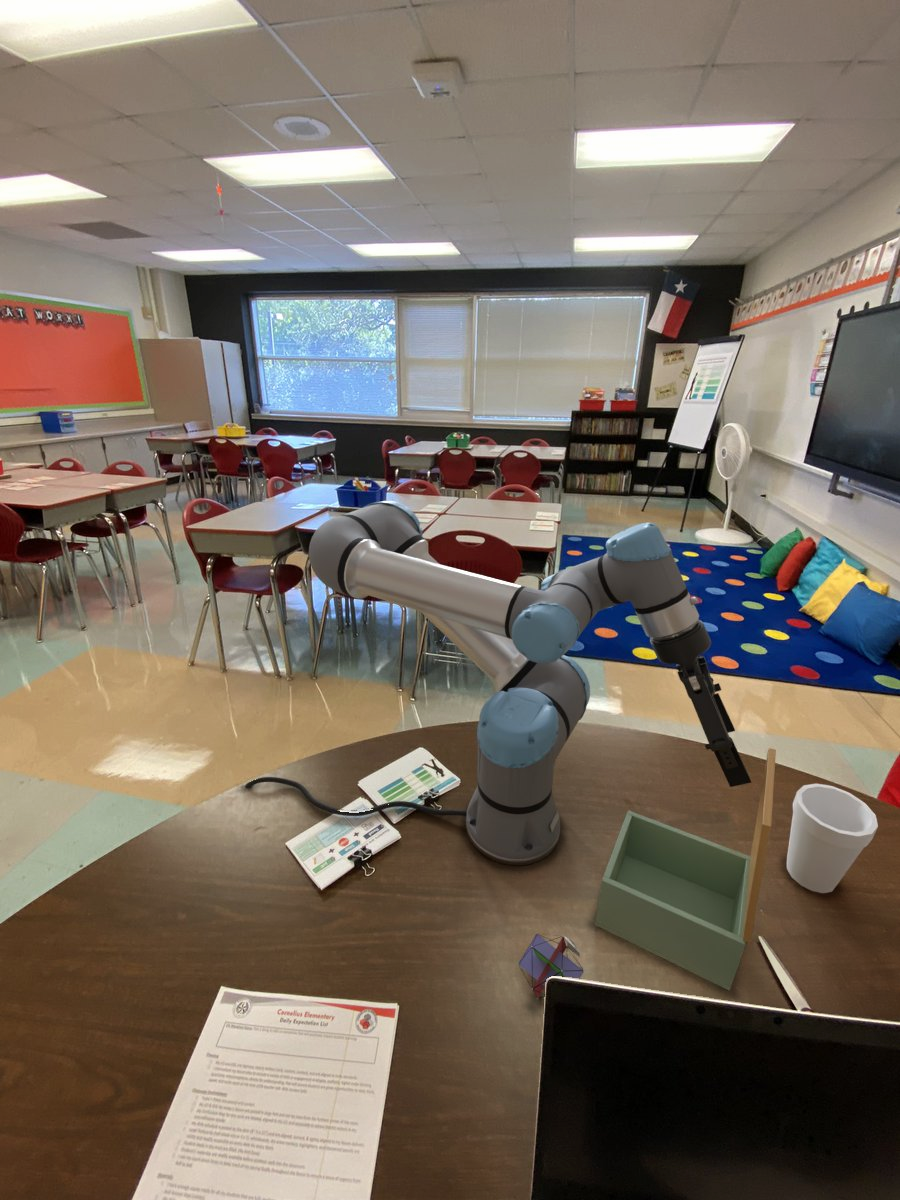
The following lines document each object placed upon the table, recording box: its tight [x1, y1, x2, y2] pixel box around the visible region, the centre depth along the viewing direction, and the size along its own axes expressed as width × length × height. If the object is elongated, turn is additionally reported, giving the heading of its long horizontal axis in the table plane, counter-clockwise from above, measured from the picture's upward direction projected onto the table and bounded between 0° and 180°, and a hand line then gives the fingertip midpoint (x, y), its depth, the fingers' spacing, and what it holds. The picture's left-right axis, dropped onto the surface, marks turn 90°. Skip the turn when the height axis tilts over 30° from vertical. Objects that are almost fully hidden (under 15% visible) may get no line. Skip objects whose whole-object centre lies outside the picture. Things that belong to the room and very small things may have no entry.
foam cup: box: [786, 782, 879, 894], centre depth 77 cm, size 10×9×13 cm
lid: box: [743, 747, 777, 944], centre depth 64 cm, size 17×14×1 cm
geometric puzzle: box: [517, 932, 585, 1001], centre depth 65 cm, size 7×7×8 cm
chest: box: [594, 809, 751, 992], centre depth 73 cm, size 17×14×9 cm
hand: (732, 755), depth 79 cm, fingers open, 13 cm apart
